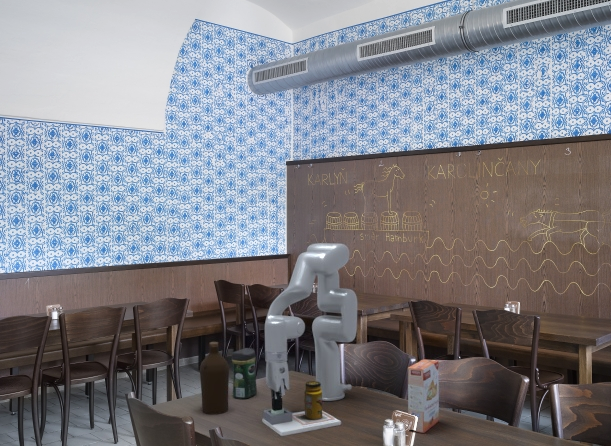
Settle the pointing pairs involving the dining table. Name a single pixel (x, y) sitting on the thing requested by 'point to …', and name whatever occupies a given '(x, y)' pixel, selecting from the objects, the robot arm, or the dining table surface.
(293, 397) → the dining table surface
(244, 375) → the coffee jar
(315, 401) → the condiment
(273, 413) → the button
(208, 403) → the olive oil
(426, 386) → the cracker box
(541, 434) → the dining table surface
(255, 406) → the dining table surface
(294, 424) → the board
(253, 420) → the dining table surface
